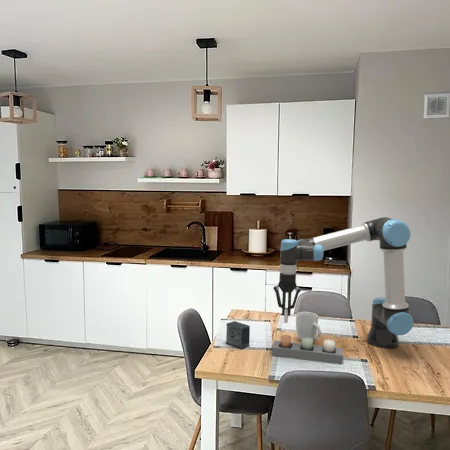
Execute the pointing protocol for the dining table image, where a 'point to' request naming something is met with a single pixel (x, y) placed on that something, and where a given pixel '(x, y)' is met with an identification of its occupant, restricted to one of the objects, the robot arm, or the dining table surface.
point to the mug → (307, 325)
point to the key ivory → (329, 345)
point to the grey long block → (307, 353)
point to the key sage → (307, 343)
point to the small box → (238, 334)
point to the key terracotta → (285, 340)
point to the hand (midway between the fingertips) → (285, 322)
